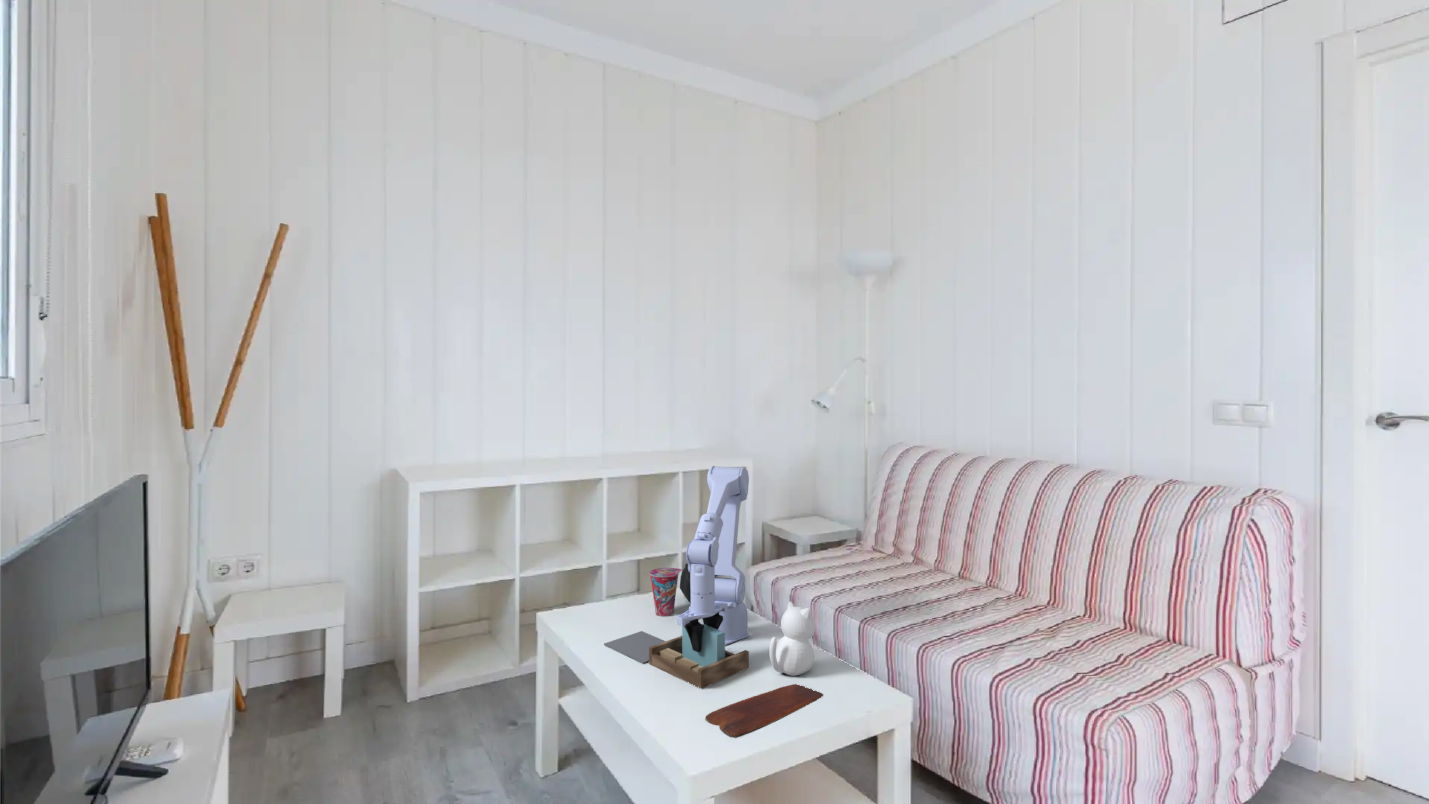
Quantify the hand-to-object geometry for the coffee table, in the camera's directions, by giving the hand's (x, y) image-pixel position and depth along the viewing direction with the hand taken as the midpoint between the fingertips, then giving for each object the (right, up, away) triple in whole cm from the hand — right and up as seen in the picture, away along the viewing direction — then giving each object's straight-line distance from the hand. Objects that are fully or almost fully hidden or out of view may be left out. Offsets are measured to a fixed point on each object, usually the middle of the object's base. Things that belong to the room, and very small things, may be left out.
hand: (703, 648), depth 164 cm
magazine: (-1, -3, +36) cm, 36 cm away
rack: (-1, -4, -1) cm, 4 cm away
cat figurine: (+20, -4, -4) cm, 21 cm away
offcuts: (-4, -4, -4) cm, 7 cm away
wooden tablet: (+14, -6, -21) cm, 26 cm away
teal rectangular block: (0, -4, 0) cm, 4 cm away
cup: (-11, -3, +35) cm, 37 cm away
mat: (-15, -3, +10) cm, 19 cm away
